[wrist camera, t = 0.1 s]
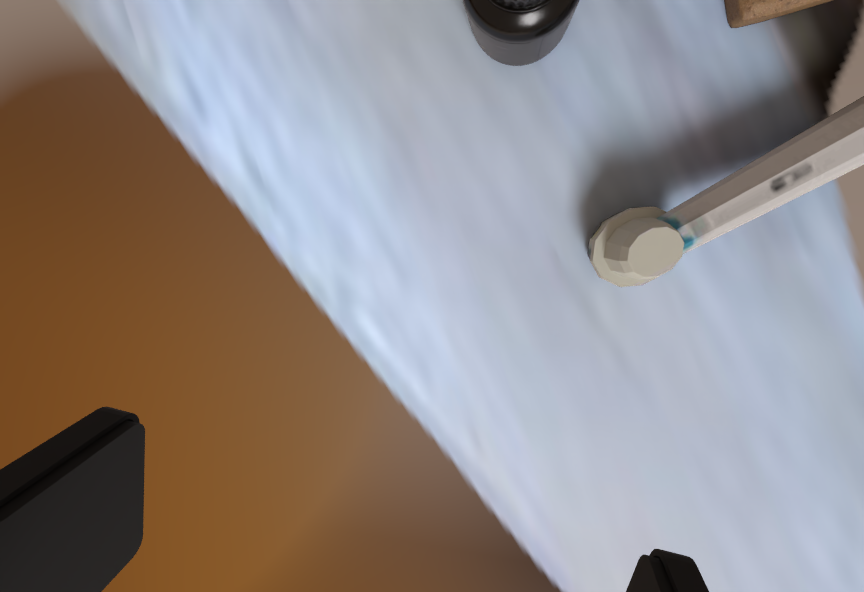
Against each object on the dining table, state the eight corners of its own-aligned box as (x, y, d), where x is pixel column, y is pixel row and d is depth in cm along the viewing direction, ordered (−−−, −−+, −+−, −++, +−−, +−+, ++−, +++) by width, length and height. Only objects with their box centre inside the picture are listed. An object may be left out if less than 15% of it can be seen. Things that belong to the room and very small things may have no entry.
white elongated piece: (1028, 102, 28) (635, 314, 31) (918, 120, 35) (601, 293, 38) (999, 17, 27) (598, 243, 30) (892, 51, 34) (570, 235, 37)
